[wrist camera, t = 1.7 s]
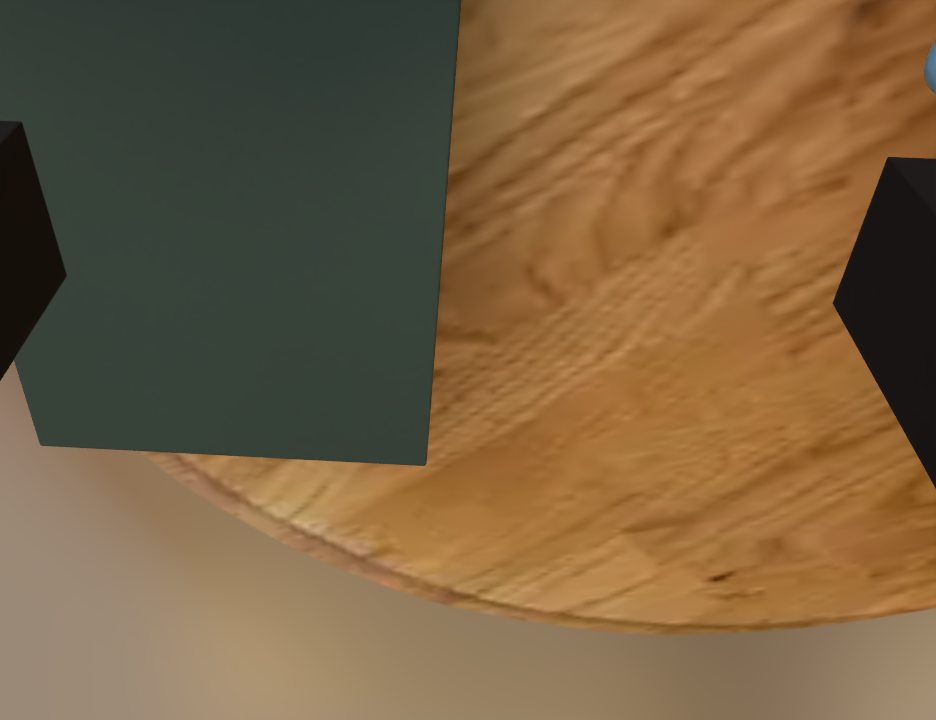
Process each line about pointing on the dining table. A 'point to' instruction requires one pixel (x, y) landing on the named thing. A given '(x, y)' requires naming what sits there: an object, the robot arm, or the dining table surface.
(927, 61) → the orange tube with rings
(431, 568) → the dining table surface
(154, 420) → the cabinet
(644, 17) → the dining table surface
